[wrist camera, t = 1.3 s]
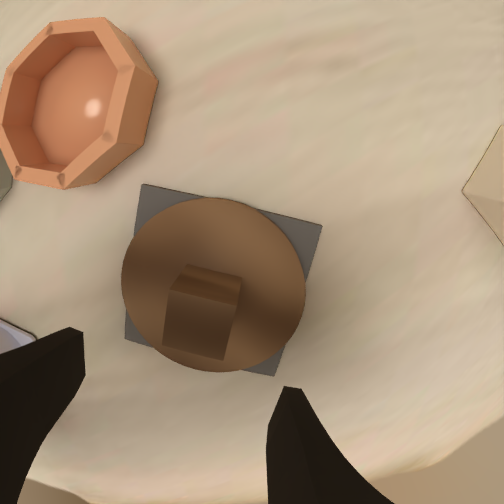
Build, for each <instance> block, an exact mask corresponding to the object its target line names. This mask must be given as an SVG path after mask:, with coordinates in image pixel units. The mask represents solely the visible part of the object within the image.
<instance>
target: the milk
mask: <svg viewBox="0 0 504 504" xmlns="http://www.w3.org/2000/svg"><path fill="white" fill-rule="evenodd" d="M462 192H463V193H464V195H465V196H466V197H467V198H468V199H469V201H470V202H471V203H472V204H473V206H474V207H475V208H476V209H477V210H478V212H479V213H480V214H481V215H482V217H483V218H484V219H485V221H486V222H487V223H488V225H489V226H490V227H491V229H492V230H493V231H494V233H495V234H496V235H497V237H498V238H499V239H500V241H501V242H502V244H503V245H504V125H501V126H500V128H499V130H498V132H497V134H496V135H495V137H494V139H493V141H492V143H491V144H490V146H489V148H488V150H487V151H486V153H485V155H484V156H483V158H482V160H481V161H480V163H479V165H478V166H477V168H476V170H475V171H474V173H473V174H472V176H471V178H470V179H469V181H468V182H467V184H466V185H465V187H464V188H463V190H462Z"/></svg>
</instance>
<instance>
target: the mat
mask: <svg viewBox="0 0 504 504" xmlns="http://www.w3.org/2000/svg"><path fill="white" fill-rule="evenodd" d="M198 198H208V197H203V196H199V195H194V194H189V193H185V192H180V191H176V190H171V189H166V188H161V187H157V186H152V185H147V184H142V185H141V191H140V197H139V203H138V209H137V216H136V223H135V230H134V236H135V235H136V233H137V232H138V231H139V230H140V229H141V227H142V226H143V225H144V224H145V223H146V222H147V221H149V220H150V219H151V218H152V217H153V216H155V215H156V214H158V213H160V212H161V211H163V210H165V209H166V208H168V207H170V206H173V205H175V204H178V203H180V202H184V201H187V200H191V199H198ZM254 209H255V208H254ZM256 210H257V211H259V212H260V213H262V214H264V215H265V216H267V217H268V218H269V219H270V220H272V221H273V222H274V223H275V224H276V225H277V226H278V227H279V228H280V229H281V230H282V231H283V232H284V233H285V235H286V236H287V238H288V239H289V240H290V242H291V243H292V245H293V247H294V249H295V251H296V253H297V255H298V258H299V261H300V264H301V267H302V270H303V274H304V279H305V283H306V280H307V277H308V273H309V270H310V267H311V263H312V260H313V257H314V253H315V250H316V247H317V243H318V240H319V236H320V233H321V229H322V226H321V225H319V224H315V223H311V222H307V221H303V220H299V219H295V218H292V217H288V216H284V215H280V214H275V213H271V212H267V211H263V210H259V209H256ZM133 238H134V237H133ZM125 339H127V340H130V341H133V342H136V343H139V344H143V345H146V346H149V347H152V346H151V345H150V344H149V343H148V342H147V341H146V340H145V339H144V337H143V336H142V335H141V334H140V333H139V331H138V330H137V328H136V327H135V325H134V324H133V322H132V320H131V318H130V316H129V314H128V311H127V309H126V322H125ZM284 347H285V345H284V346H283V347H282V348H281V349H280V350H279V351H278V352H277V353H275V354H274V355H273V356H271V357H270V358H268V359H267V360H265V361H263V362H261V363H259V364H257V365H254V366H252V367H249V368H246V369H242V370H244V371H249V372H254V373H259V374H264V375H269V376H275V373H276V370H277V367H278V364H279V362H280V359H281V356H282V353H283V350H284ZM153 348H154V347H153Z"/></svg>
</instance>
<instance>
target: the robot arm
mask: <svg viewBox="0 0 504 504" xmlns="http://www.w3.org/2000/svg"><path fill="white" fill-rule="evenodd" d="M85 375H86V374H85V359H84V340H83V332H81V331H79V330H76V329H74V328H71V327H68V328H65V329H62V330H60V331H57V332H55V333H52V334H50V335H48V336H45V337H43V338H41V339H38V340H36V339H35V338H34V336H32V335H31V334H29V333H27V332H24V331H22V330H20V329H18V328H16V327H14V326H12V325H10V324H8V323H6V322H4V321H2V320H0V504H17V501H18V498H19V495H20V492H21V489H22V486H23V484H24V481H25V478H26V476H27V474H28V471H29V469H30V467H31V464H32V462H33V460H34V458H35V456H36V454H37V452H38V450H39V448H40V446H41V444H42V442H43V441H44V439H45V437H46V436H47V434H48V433H49V431H50V430H51V429H52V427H53V426H54V424H55V423H56V422H57V420H58V419H59V417H60V416H61V415H62V413H63V412H64V410H65V409H66V408H67V406H68V405H69V403H70V402H71V401H72V399H73V398H74V396H75V394H76V393H77V391H78V389H79V387H80V385H81V383H82V381H83V379H84V377H85ZM266 463H267V485H268V504H394V503H393V502H391V501H390V500H389V499H387V498H386V497H385V496H383V495H382V494H381V493H380V492H379V491H377V490H376V489H375V488H374V487H373V486H372V485H371V484H370V483H368V482H367V481H366V480H365V479H364V478H363V477H362V476H361V475H360V474H359V473H358V472H357V470H356V469H355V468H354V467H353V466H352V465H351V464H350V463H349V462H348V461H347V459H346V458H345V457H344V456H343V454H342V453H341V452H340V450H339V449H338V448H337V446H336V445H335V444H334V442H333V441H332V439H331V438H330V436H329V435H328V433H327V432H326V430H325V429H324V427H323V425H322V424H321V422H320V421H319V419H318V417H317V416H316V414H315V412H314V410H313V409H312V407H311V405H310V403H309V401H308V400H307V398H306V396H305V394H304V392H303V391H302V389H299V388H293V387H287V386H284V387H283V390H282V392H281V395H280V397H279V400H278V402H277V405H276V407H275V410H274V412H273V415H272V417H271V420H270V422H269V424H268V432H267V443H266Z"/></svg>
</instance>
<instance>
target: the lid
mask: <svg viewBox="0 0 504 504" xmlns="http://www.w3.org/2000/svg"><path fill="white" fill-rule="evenodd" d="M121 286H122V294H123V299H124V303H125V306H126V309H127V311H128V314H129V316H130V318H131V320H132V322H133V324H134V325H135V327H136V328H137V330H138V331H139V333H140V334H141V335H142V336H143V337H144V339H145V340H146V341H147V342H148V343H149V344H150V345H151V346H152V347H154V348H155V349H156V350H157V351H158V352H160V353H161V354H163V355H164V356H166V357H167V358H169V359H171V360H173V361H174V362H177V363H179V364H181V365H183V366H186V367H190V368H193V369H197V370H202V371H208V372H231V371H238V370H242V369H246V368H249V367H252V366H254V365H257V364H259V363H261V362H263V361H265V360H267V359H268V358H270V357H271V356H273V355H274V354H275V353H277V352H278V351H279V350H280V349H281V348H282V347H283V346H284V345H285V344H286V343H287V342H288V340H289V339H290V338H291V337H292V335H293V333H294V332H295V330H296V328H297V327H298V324H299V322H300V319H301V317H302V313H303V309H304V305H305V296H306V292H305V279H304V274H303V270H302V267H301V264H300V261H299V258H298V255H297V253H296V251H295V249H294V247H293V245H292V243H291V242H290V240H289V239H288V238H287V236H286V235H285V233H284V232H283V231H282V230H281V229H280V228H279V227H278V226H277V225H276V224H275V223H274V222H273V221H272V220H270V219H269V218H268V217H267V216H265V215H264V214H262V213H260V212H259V211H257V210H256V209H254V208H251V207H249V206H247V205H245V204H242V203H239V202H236V201H232V200H227V199H221V198H198V199H191V200H187V201H184V202H180V203H178V204H175V205H173V206H170V207H168V208H166V209H165V210H163V211H161V212H160V213H158V214H156V215H155V216H153V217H152V218H151V219H150V220H149V221H147V222H146V223H145V224H144V225H143V226H142V227H141V229H140V230H139V231H138V232H137V233H136V235H135V236H134V238H133V239H132V241H131V243H130V245H129V247H128V249H127V251H126V255H125V258H124V261H123V267H122V274H121Z"/></svg>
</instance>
